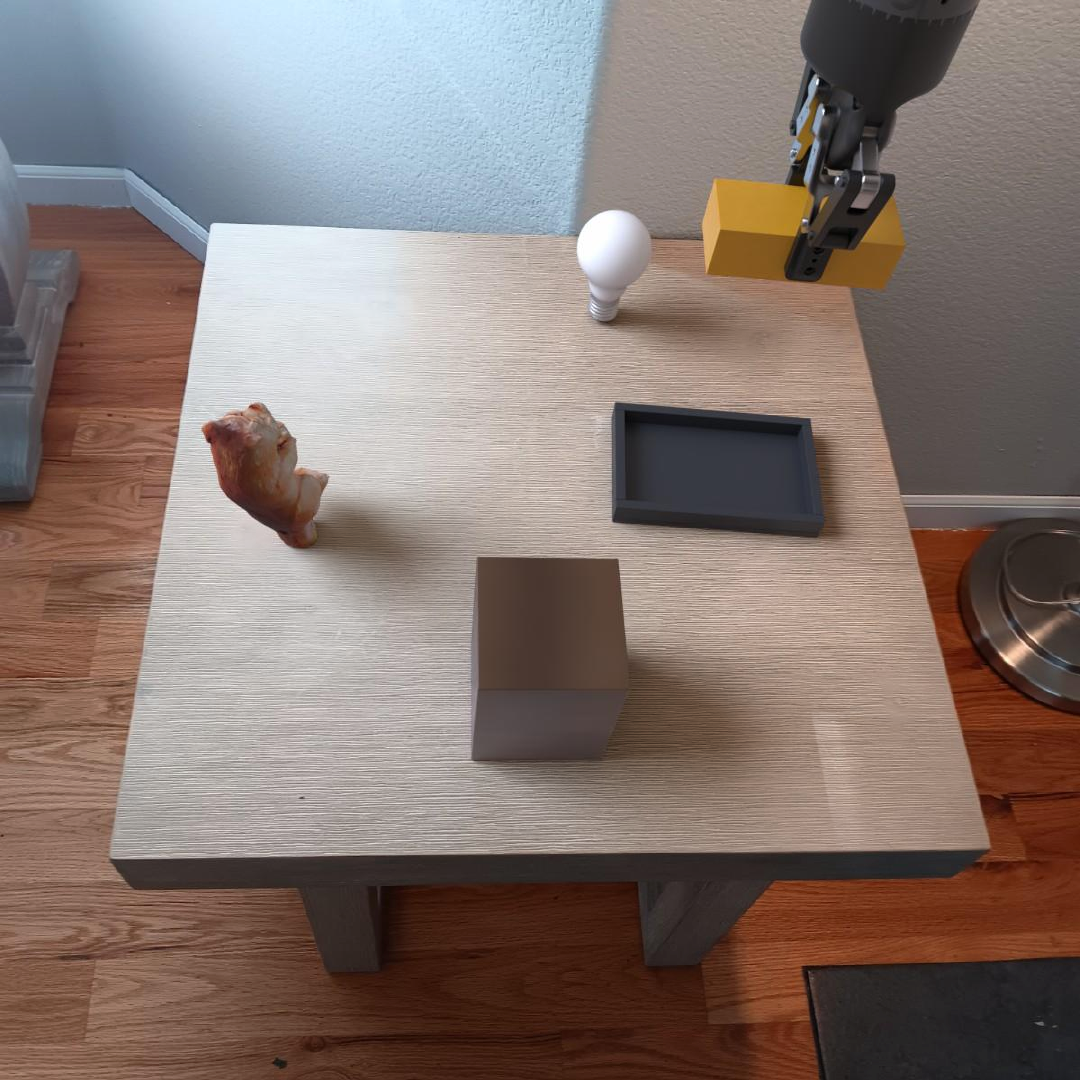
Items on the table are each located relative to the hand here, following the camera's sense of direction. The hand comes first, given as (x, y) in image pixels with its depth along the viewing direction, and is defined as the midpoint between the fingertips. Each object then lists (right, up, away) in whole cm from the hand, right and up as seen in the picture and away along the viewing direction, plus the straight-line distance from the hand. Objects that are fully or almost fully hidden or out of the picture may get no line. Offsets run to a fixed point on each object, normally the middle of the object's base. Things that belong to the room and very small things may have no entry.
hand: (796, 246), depth 62 cm
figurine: (-35, -17, +15) cm, 42 cm away
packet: (0, 0, +1) cm, 1 cm away
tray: (-2, -13, +22) cm, 25 cm away
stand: (-16, -29, +10) cm, 35 cm away
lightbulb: (-10, +2, +30) cm, 32 cm away
